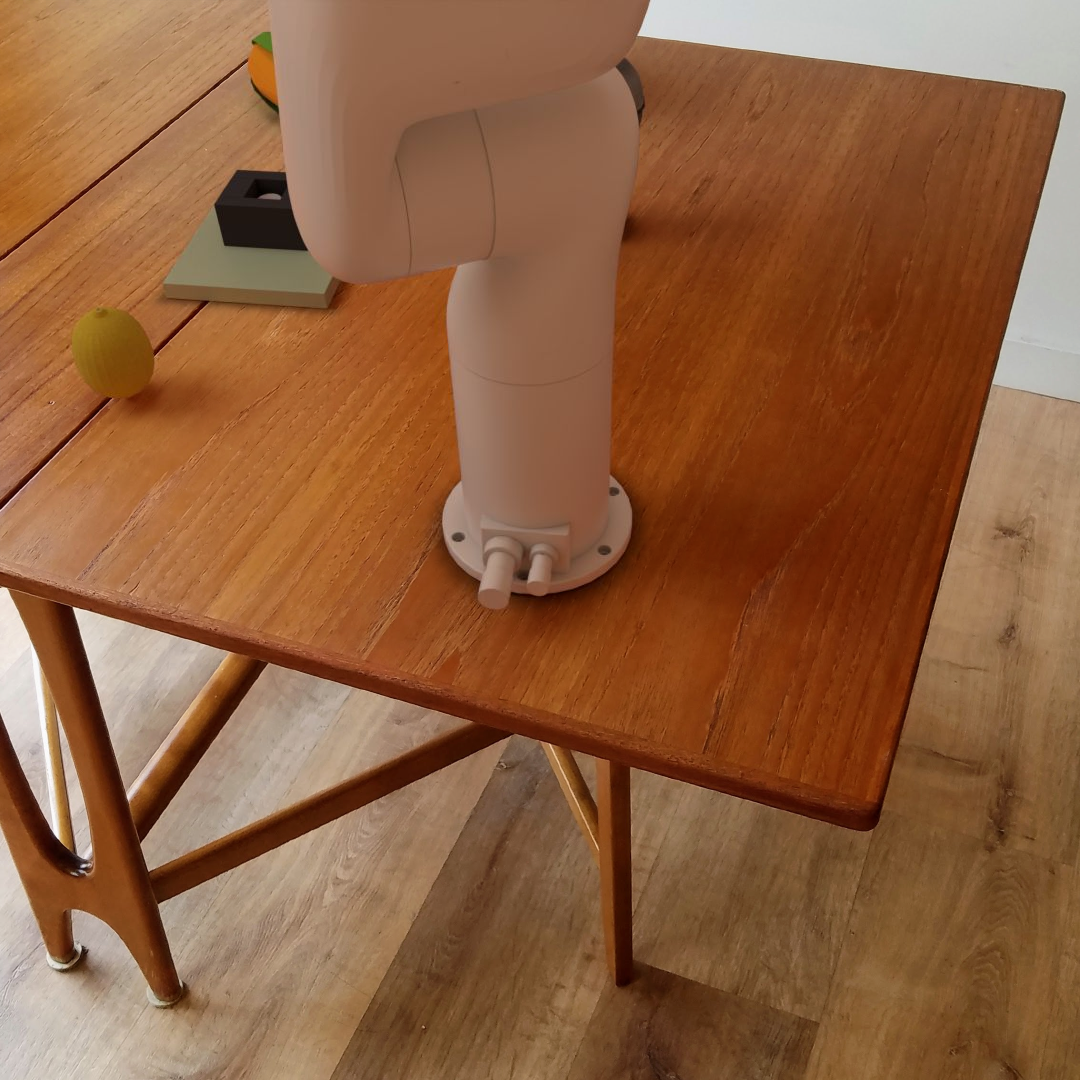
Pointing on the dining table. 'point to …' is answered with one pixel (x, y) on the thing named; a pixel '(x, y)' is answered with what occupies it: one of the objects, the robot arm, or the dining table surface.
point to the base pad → (247, 272)
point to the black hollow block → (258, 212)
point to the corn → (263, 70)
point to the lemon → (112, 352)
